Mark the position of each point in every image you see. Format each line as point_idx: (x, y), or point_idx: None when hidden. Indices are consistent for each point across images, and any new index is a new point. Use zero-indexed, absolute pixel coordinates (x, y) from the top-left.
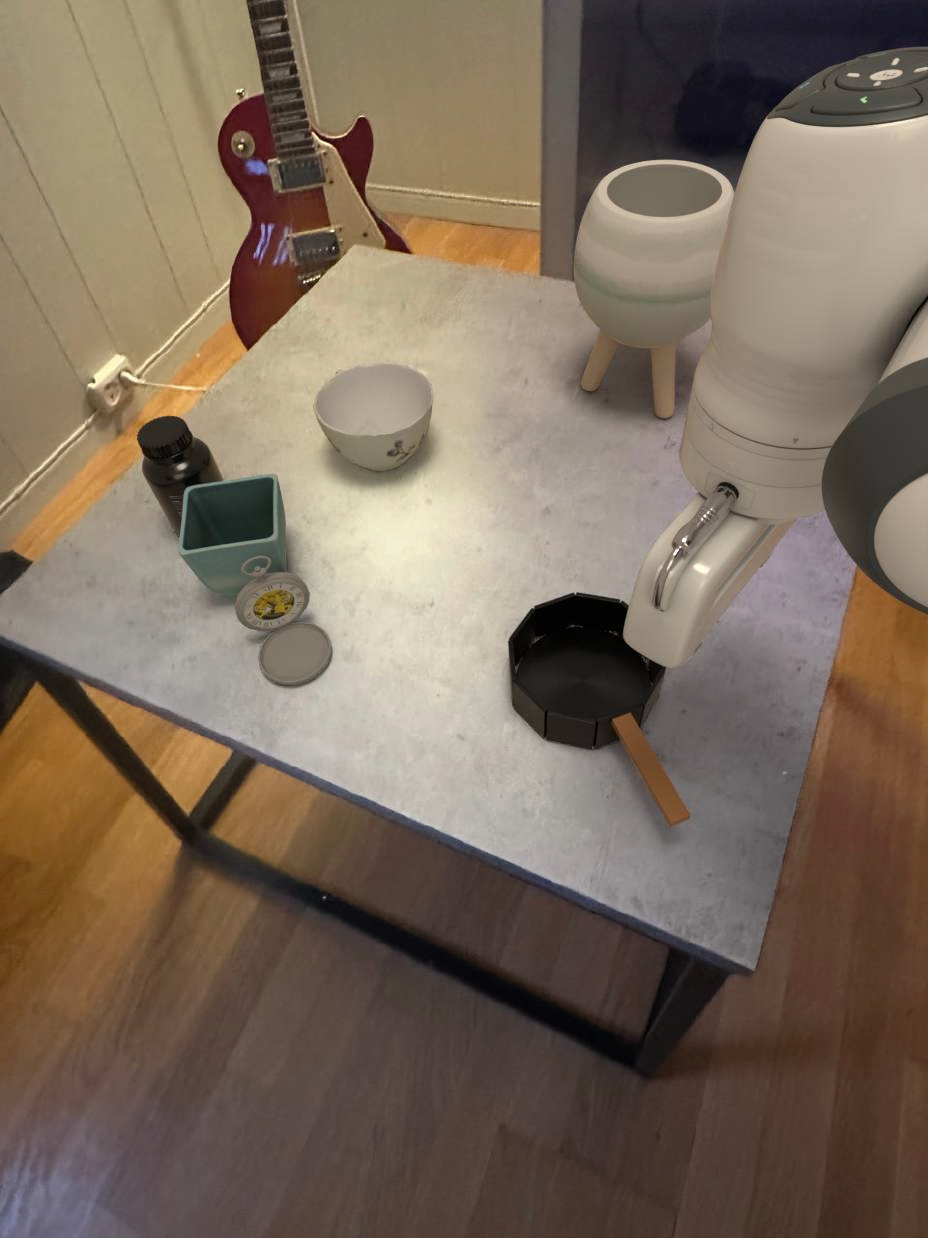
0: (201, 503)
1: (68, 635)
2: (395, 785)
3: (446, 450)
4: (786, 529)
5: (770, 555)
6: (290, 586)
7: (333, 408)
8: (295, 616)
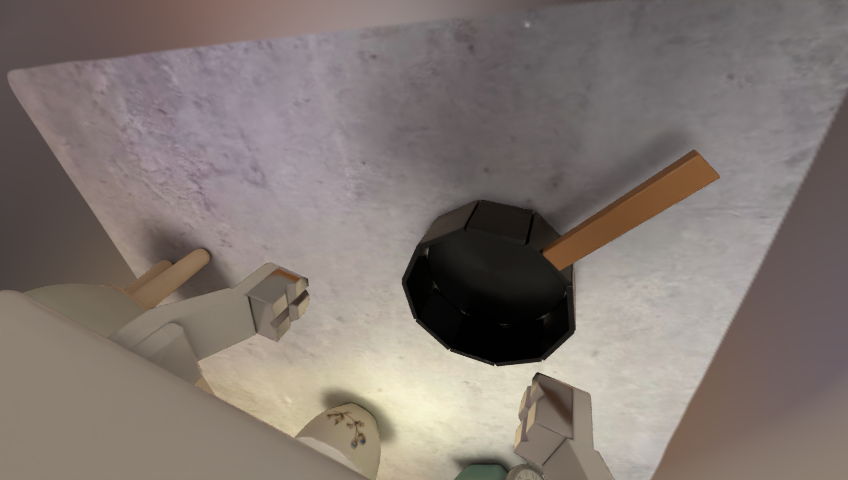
0: None
1: None
2: (667, 394)
3: (333, 383)
4: (168, 459)
5: (270, 270)
6: None
7: (350, 467)
8: (526, 469)
